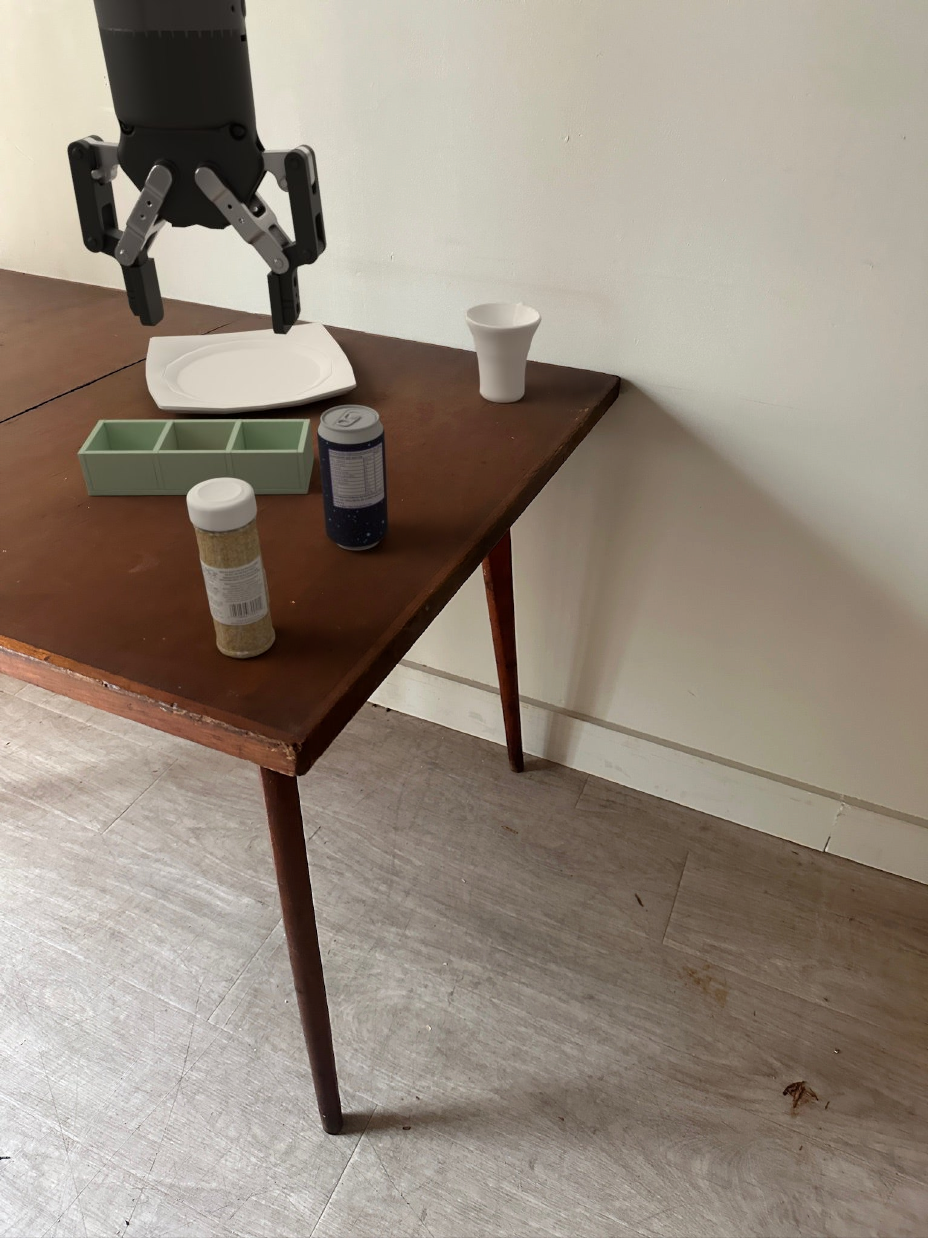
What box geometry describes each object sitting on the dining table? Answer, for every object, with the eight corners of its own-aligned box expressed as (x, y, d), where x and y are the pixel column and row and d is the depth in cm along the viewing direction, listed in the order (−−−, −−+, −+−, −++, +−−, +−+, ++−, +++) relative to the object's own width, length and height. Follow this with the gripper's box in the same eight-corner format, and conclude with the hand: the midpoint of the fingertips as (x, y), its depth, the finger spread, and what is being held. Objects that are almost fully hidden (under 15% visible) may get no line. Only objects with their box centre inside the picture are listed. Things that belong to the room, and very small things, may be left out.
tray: (89, 495, 85) (77, 453, 82) (109, 460, 91) (99, 419, 88) (307, 494, 86) (303, 452, 83) (314, 459, 92) (310, 418, 89)
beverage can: (399, 530, 81) (395, 410, 73) (369, 561, 77) (362, 437, 69) (347, 516, 83) (338, 397, 75) (314, 545, 79) (302, 422, 71)
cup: (550, 390, 108) (557, 309, 101) (509, 415, 102) (513, 330, 95) (492, 372, 112) (495, 293, 105) (448, 395, 106) (449, 313, 99)
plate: (328, 337, 120) (326, 318, 119) (369, 408, 102) (368, 387, 100) (144, 355, 114) (140, 334, 112) (153, 434, 96) (148, 411, 94)
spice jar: (274, 621, 70) (252, 472, 61) (277, 657, 66) (254, 504, 58) (215, 628, 69) (186, 477, 60) (215, 665, 65) (184, 510, 57)
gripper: (5, 17, 43) (85, 340, 53) (286, 27, 42) (314, 354, 52) (73, 10, 49) (134, 302, 59) (321, 18, 48) (340, 313, 58)
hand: (218, 326), depth 55 cm, fingers open, 8 cm apart
